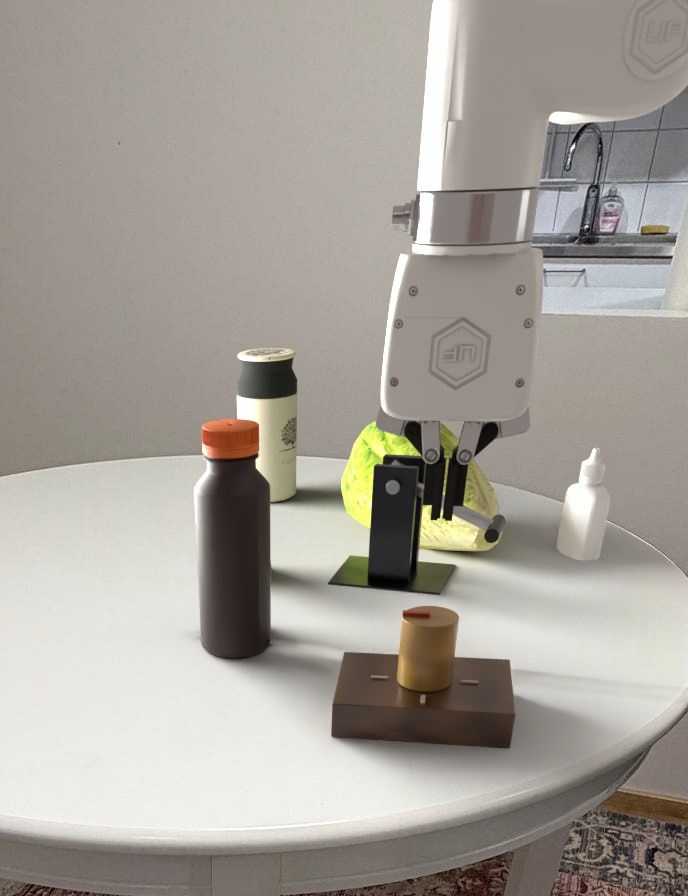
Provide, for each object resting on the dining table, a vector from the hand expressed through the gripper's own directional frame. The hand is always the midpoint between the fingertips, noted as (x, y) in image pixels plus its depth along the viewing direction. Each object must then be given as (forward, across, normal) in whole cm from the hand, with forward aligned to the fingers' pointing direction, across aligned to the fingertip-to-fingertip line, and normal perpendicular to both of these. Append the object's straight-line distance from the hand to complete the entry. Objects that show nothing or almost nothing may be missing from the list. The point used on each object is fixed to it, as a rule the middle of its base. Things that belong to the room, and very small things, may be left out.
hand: (441, 514), depth 72 cm
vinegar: (+16, -18, +10) cm, 26 cm away
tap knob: (+13, 0, -2) cm, 13 cm away
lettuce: (+16, -2, +42) cm, 45 cm away
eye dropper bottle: (+16, +15, +38) cm, 44 cm away
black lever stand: (+16, -4, +28) cm, 33 cm away
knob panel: (+16, 0, -2) cm, 16 cm away
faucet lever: (+8, 0, +27) cm, 29 cm away
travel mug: (+16, -24, +61) cm, 67 cm away
